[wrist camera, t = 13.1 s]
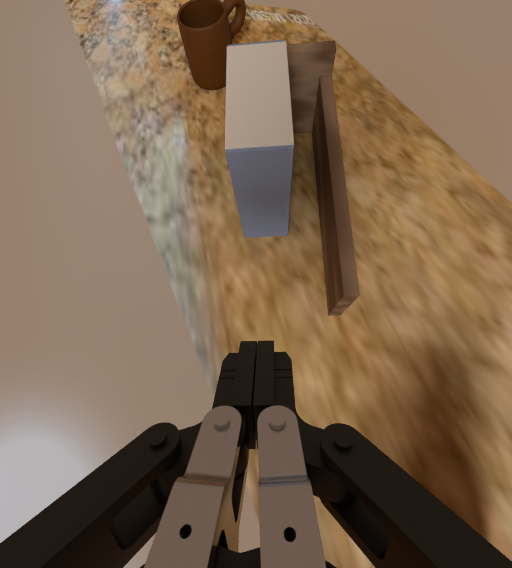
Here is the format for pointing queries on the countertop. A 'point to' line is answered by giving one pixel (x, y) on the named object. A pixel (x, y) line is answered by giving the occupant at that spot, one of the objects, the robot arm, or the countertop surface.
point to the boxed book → (259, 135)
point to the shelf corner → (325, 165)
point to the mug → (209, 38)
